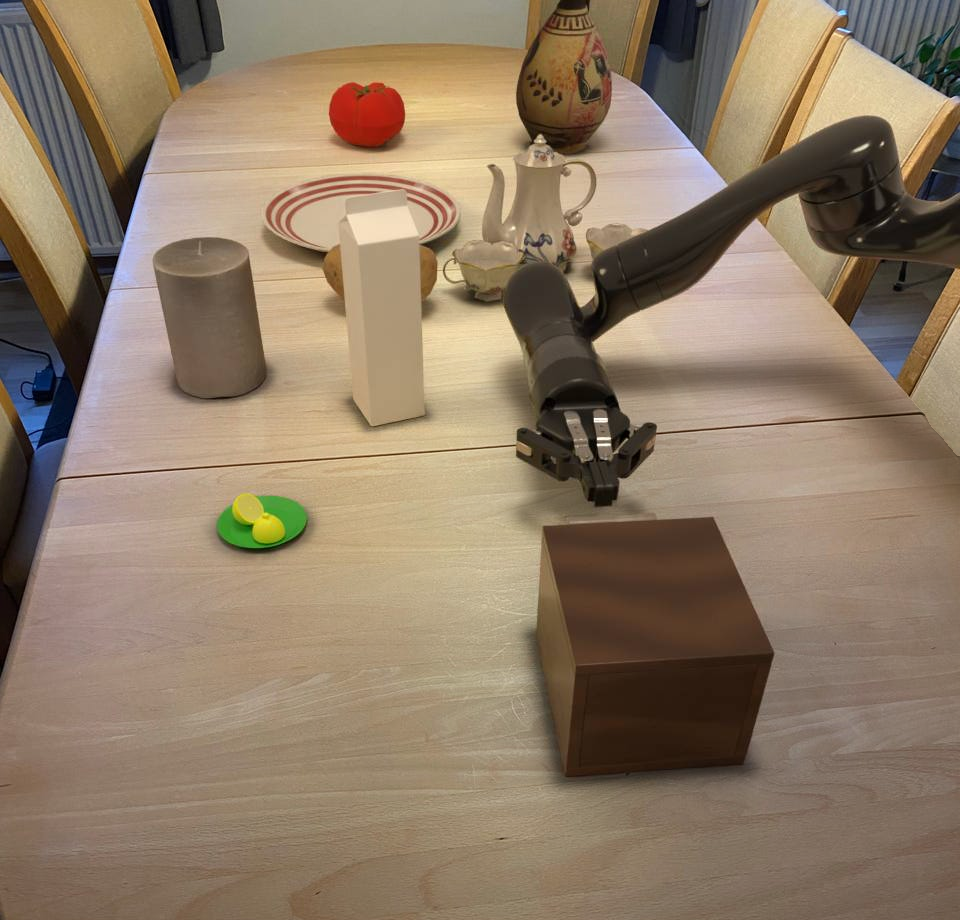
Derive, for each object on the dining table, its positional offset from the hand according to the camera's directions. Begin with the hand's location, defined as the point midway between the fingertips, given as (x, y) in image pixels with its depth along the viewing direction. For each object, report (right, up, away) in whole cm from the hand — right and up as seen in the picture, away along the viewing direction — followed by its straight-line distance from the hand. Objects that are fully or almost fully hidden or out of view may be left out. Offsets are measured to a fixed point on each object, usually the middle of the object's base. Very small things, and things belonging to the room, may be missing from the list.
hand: (604, 498), depth 83 cm
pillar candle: (-38, +17, +30) cm, 51 cm away
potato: (-22, +29, +43) cm, 56 cm away
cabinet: (+1, -16, -6) cm, 17 cm away
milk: (-20, +13, +25) cm, 34 cm away
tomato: (-28, +72, +89) cm, 118 cm away
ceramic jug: (+4, +71, +89) cm, 114 cm away
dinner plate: (-26, +46, +61) cm, 81 cm away
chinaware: (-2, +36, +50) cm, 62 cm away
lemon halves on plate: (-30, -1, +9) cm, 31 cm away
